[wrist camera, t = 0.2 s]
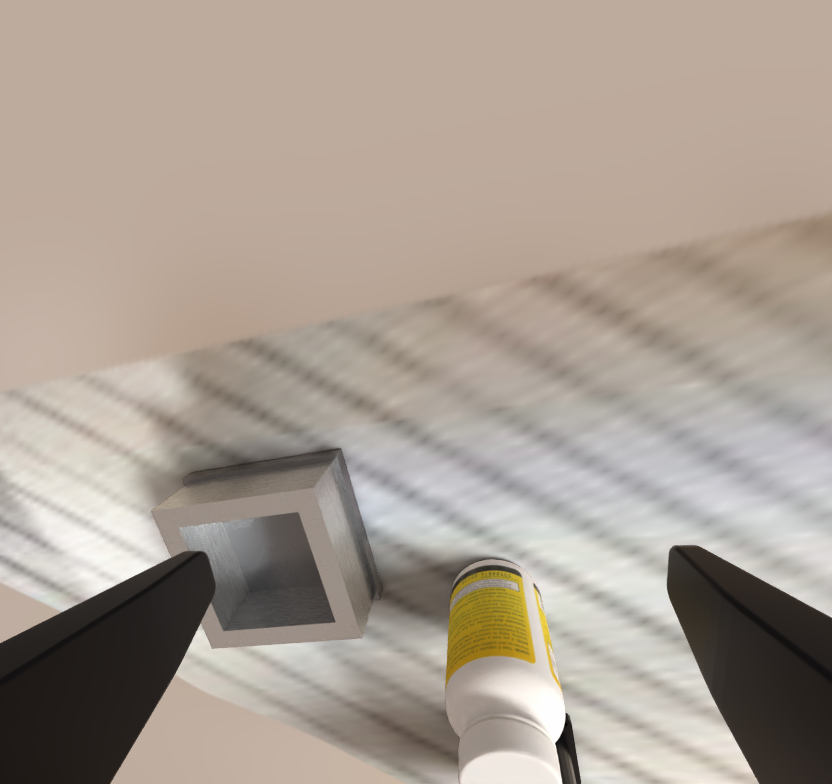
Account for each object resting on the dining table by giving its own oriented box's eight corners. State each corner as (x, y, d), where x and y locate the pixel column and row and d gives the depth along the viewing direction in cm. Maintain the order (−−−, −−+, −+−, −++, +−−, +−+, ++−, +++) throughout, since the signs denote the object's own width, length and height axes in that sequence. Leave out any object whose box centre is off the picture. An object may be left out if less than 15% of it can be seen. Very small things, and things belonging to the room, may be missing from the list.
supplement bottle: (432, 590, 25) (411, 776, 16) (494, 539, 24) (511, 714, 14) (494, 641, 26) (509, 850, 16) (559, 596, 24) (616, 799, 15)
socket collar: (382, 590, 26) (368, 642, 22) (243, 602, 27) (209, 652, 24) (341, 448, 23) (317, 481, 19) (191, 472, 25) (143, 506, 21)
